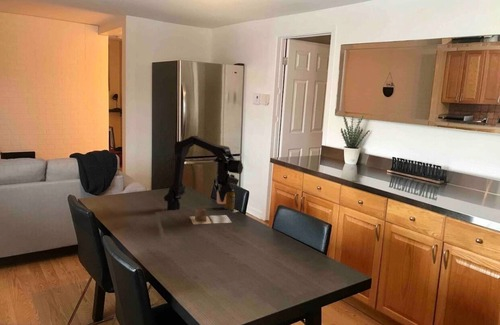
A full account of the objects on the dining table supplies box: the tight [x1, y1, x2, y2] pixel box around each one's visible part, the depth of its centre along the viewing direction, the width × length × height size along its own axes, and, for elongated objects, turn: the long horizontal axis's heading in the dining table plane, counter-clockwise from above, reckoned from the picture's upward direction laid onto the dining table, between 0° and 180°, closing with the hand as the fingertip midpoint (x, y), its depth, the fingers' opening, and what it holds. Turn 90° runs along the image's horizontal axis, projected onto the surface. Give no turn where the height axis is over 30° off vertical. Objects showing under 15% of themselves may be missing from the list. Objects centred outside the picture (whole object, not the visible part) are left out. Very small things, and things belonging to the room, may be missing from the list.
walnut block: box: [194, 208, 208, 222], centre depth 203 cm, size 5×5×5 cm
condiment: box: [223, 188, 239, 213], centre depth 225 cm, size 7×8×12 cm
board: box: [189, 214, 233, 225], centre depth 205 cm, size 20×12×1 cm, turn 108°
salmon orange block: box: [216, 191, 226, 205], centre depth 204 cm, size 4×4×6 cm
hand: (221, 200), depth 205 cm, fingers closed on salmon orange block, 4 cm apart
